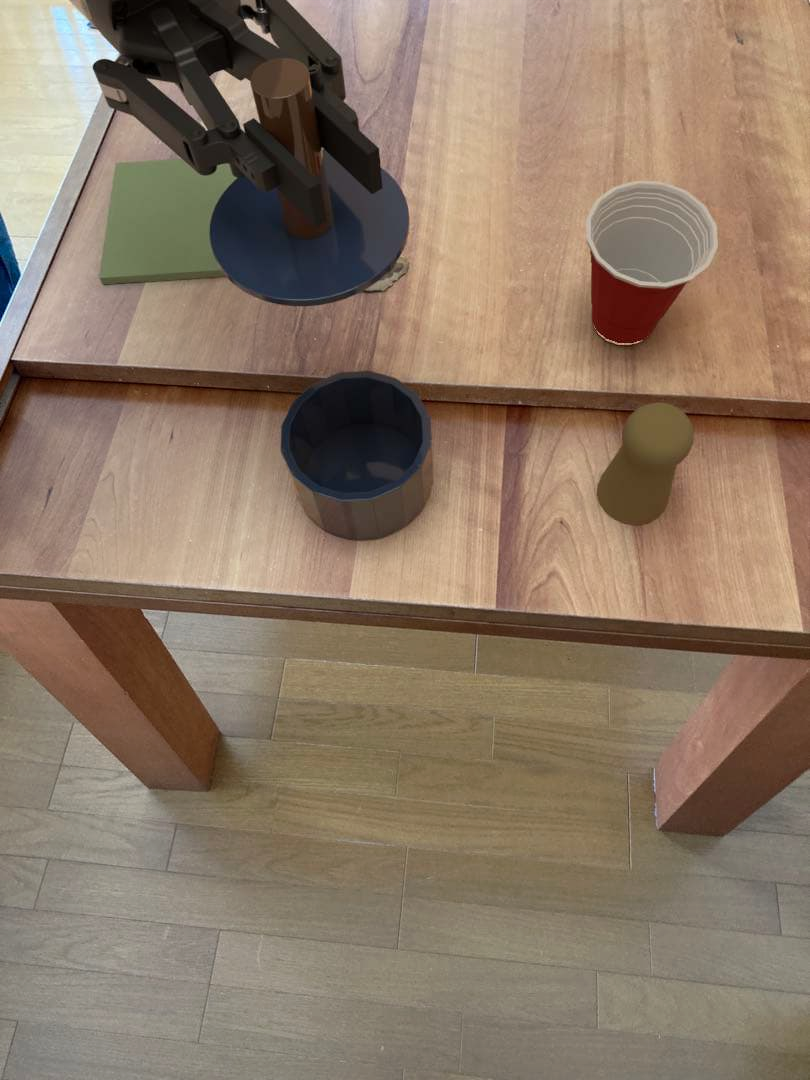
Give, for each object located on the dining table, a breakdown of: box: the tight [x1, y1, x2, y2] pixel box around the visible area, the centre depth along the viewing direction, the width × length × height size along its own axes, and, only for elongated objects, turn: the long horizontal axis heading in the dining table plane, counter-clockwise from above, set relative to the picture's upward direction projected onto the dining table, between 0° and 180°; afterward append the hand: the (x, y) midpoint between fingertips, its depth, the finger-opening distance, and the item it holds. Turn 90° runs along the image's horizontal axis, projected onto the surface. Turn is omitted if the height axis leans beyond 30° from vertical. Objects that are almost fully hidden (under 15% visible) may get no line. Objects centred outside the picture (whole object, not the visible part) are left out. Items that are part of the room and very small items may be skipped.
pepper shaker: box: [596, 402, 695, 526], centre depth 65 cm, size 6×6×11 cm
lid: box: [209, 58, 411, 307], centre depth 49 cm, size 13×13×11 cm
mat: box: [98, 158, 237, 285], centre depth 85 cm, size 18×16×1 cm
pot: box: [280, 370, 434, 541], centre depth 69 cm, size 12×12×8 cm
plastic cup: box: [585, 180, 719, 343], centre depth 72 cm, size 11×11×12 cm
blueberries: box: [364, 253, 410, 292], centre depth 81 cm, size 7×8×2 cm
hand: (346, 188), depth 45 cm, fingers closed on lid, 3 cm apart
